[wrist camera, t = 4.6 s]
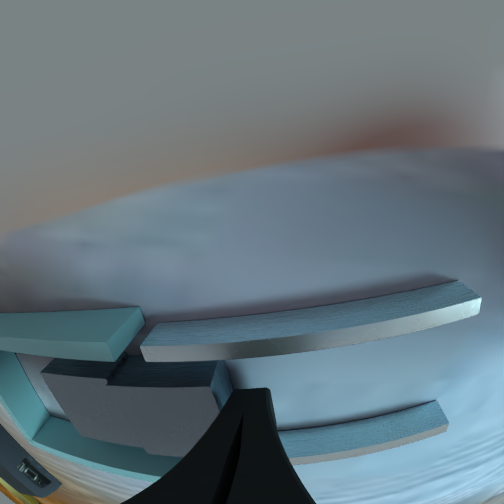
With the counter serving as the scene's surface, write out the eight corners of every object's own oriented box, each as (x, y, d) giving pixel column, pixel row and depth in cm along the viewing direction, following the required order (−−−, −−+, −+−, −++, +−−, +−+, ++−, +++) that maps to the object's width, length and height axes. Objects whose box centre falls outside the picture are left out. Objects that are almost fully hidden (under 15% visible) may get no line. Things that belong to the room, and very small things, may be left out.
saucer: (-4, 468, 24) (-9, 475, 22) (6, 470, 22) (0, 477, 20) (31, 499, 26) (27, 506, 24) (46, 504, 24) (41, 512, 22)
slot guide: (458, 280, 9) (481, 297, 7) (434, 408, 10) (445, 431, 9) (156, 322, 10) (139, 346, 9) (202, 440, 12) (196, 465, 10)
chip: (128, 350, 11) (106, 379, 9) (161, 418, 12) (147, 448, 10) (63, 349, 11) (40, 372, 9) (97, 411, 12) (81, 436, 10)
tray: (139, 306, 10) (106, 342, 8) (197, 448, 12) (185, 486, 10) (-8, 313, 11) (-36, 331, 9) (49, 421, 13) (31, 444, 11)
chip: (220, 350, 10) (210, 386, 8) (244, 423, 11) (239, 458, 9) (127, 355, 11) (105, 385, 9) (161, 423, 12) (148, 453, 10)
